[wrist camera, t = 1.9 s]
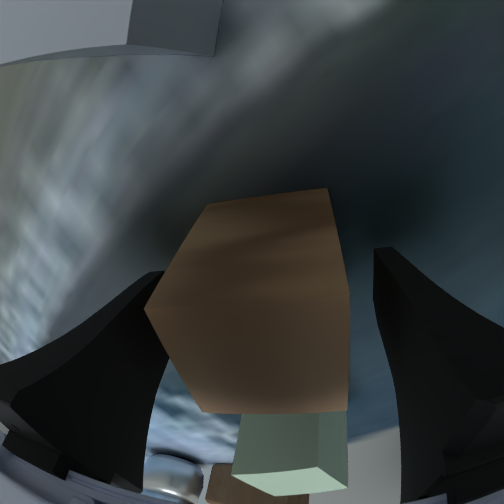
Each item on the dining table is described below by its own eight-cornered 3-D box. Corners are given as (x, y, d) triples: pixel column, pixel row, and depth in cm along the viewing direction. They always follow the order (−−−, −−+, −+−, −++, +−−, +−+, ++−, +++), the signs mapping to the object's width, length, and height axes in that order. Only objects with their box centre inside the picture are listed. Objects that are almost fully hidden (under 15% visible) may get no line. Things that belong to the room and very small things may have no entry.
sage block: (318, 364, 16) (317, 466, 11) (345, 401, 18) (348, 487, 13) (247, 383, 18) (230, 474, 13) (282, 416, 19) (274, 496, 14)
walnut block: (327, 187, 11) (349, 294, 6) (335, 287, 13) (347, 410, 8) (207, 203, 12) (143, 308, 7) (233, 296, 14) (202, 412, 9)
